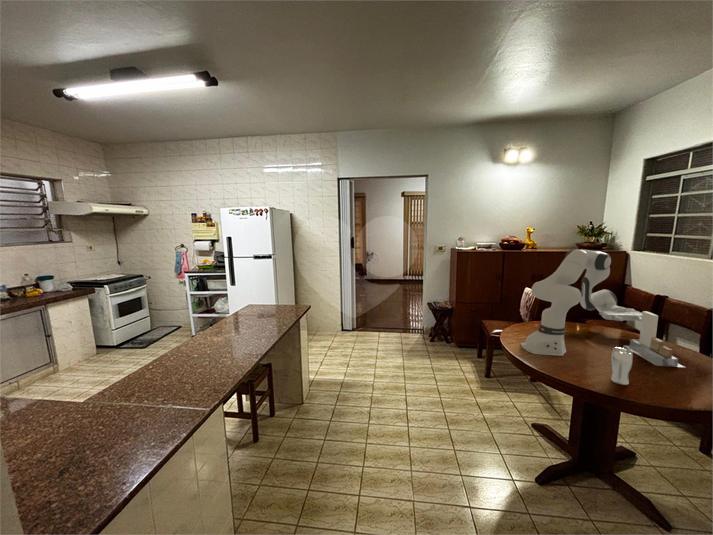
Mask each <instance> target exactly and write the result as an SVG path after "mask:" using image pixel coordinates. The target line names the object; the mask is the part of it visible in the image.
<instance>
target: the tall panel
mask: <svg viewBox="0 0 713 535" xmlns="http://www.w3.org/2000/svg"><path fill="white" fill-rule="evenodd" d="M641 313H642V321H641V322H640V323H641V324H640V332H639V339H638V340H639V343H640V344H642V345H644V346H646V347H648V348H650V349H651V342H652V338H657V331H658V330H657V329H658V323H659V322H658V321H659V315H657V314H655V313H653V312H650V311H647V310H645V311H643V310H642V312H641Z"/></svg>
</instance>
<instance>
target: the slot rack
mask: <svg viewBox="0 0 713 535" xmlns="http://www.w3.org/2000/svg"><path fill="white" fill-rule="evenodd" d="M639 340H640V339H634V338H632V339H631V338H630V339H629V345H622V346H623V348H625V349H628V350H630V351H632V352H633V353H634V354H636V355H638V356H639V357H641V358H642V359H644V360H646V361H648V362H649V363H651V364H652V365H654V366H656V367H659V366H660V367H670V368H671V367H673V368H683V369H684V368H685V369H686V366H685V365H682V364H680V363H679V358H677V357H675V356H673V355H672V358H666V357H664V356H663V355H661V354H659V353H657V352H655V351H653V350H652V349H650V348H648V347H646V346H644V345H642V344H640V343H639Z"/></svg>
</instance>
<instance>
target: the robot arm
mask: <svg viewBox="0 0 713 535" xmlns="http://www.w3.org/2000/svg"><path fill="white" fill-rule="evenodd" d="M611 264H612V257H611V255H610V254H609V253H606V252H602V251H600V250H590V249H578V248H573V249H570V250H568V251H567V252H566V254H565V258H564V259H563V261H562V262H561V263H560V265H559V266H558V267H557V269H556V270H555V271H554V272H553V273H552V274H550V275H549V276H548V277H546V278H545V279H542V280H540V281H536V282H535V283H533V284H532V286H531V289H530V290H531V291H530V292H531V294H532V296H533V297H534V298H537V299H539V300H540V301H541V300H542V301H545V302H550V303H551V306H550V307H548V308H545V309H543V310H542V313H541V322H540V324H536V323H535V324H534V325H533V326H534V328H535V329H537V330H536V331H534V332H532V333H531V334H529V335H528V336H527V337H526V340H525V342H521V343H520V346H521V348H522V349H524V350H525V351H526V352H529V353H531V354H534V355H543V356H557V357H564V355H565V354H566V353H567V348H566V343H565V334H566V327H565V326H566V325H565V324H566V317H567V313H568V312H569V310H570V309H571V308H573V307H574V306H576V305H578V304H579V303H580V306H581V307H582V309H585V310H588V311H594V310H597V311H598V315H600V316H601V317H602V318H603V319H605V320H606V321H618V322H624V321H630V322H631V321H634V322H635V321H636V322H639V323H641V321H642V312H640V311H637V310H635V309H634V308H630V307H624V306H619V305H618V299H617V295H616V294H615V293H614V292H613V291H611V290H609V289H601V290H598V291H596V292H593V289H594V287H595V286H597V285H598V284H601V283H602V282H603V281H605V280H606V279H608V277H610V274H611V268H610V266H611ZM585 270H586V271H585ZM584 271H585V274H584V276H583V277H582V279H581V290H580V289H579V288H577V287H574V286H572V284H574V283H576V282H577V281H578V280H579V278H580V277H581V276H582V274H583V272H584Z"/></svg>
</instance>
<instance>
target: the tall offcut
mask: <svg viewBox="0 0 713 535" xmlns="http://www.w3.org/2000/svg"><path fill="white" fill-rule="evenodd" d="M660 346H665V341H664V340H663V339H660V338H657V337H656V338H652V342H651V349H652V350H653V351H655V352H657V353H659V347H660Z"/></svg>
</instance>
